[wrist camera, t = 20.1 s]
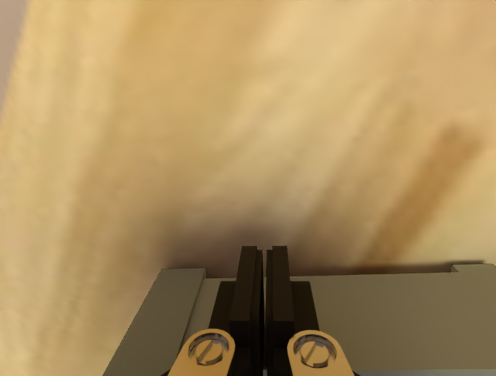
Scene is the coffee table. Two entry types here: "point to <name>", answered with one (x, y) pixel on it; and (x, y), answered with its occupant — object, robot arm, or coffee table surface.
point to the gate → (340, 321)
